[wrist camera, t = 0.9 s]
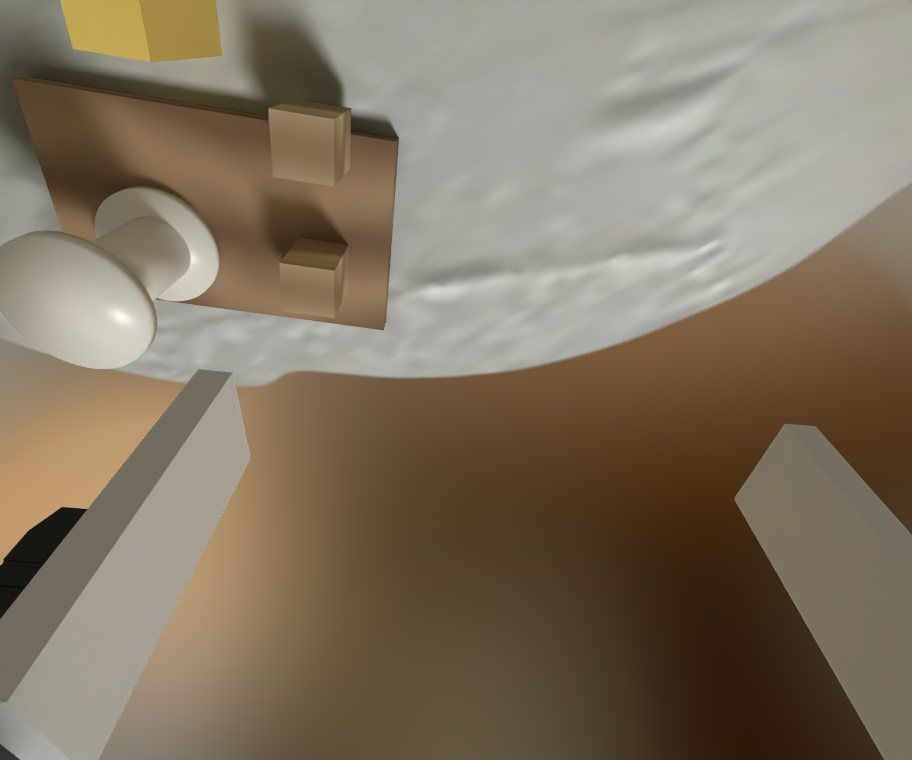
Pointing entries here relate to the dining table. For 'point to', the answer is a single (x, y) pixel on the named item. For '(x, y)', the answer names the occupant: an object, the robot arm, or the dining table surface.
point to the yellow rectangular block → (144, 28)
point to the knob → (107, 277)
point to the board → (235, 190)
